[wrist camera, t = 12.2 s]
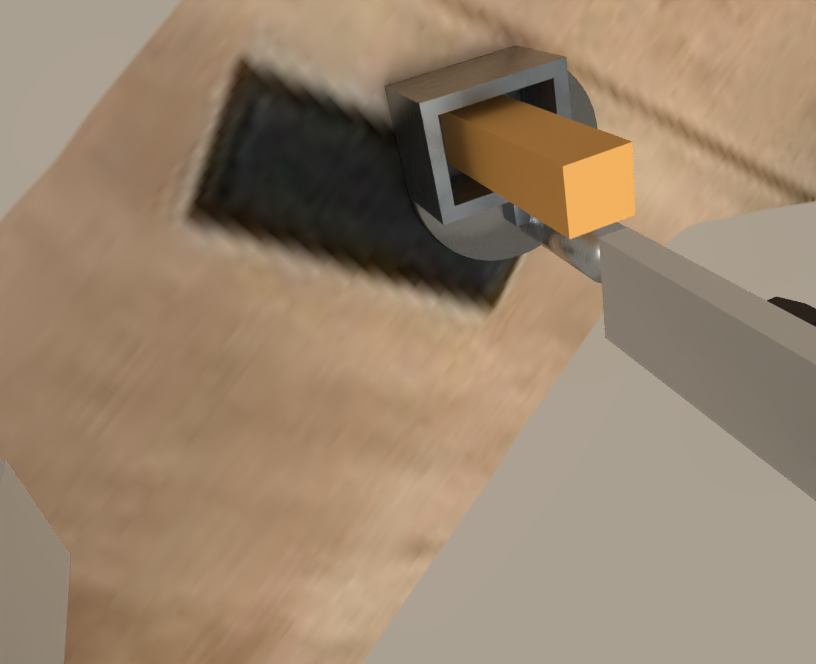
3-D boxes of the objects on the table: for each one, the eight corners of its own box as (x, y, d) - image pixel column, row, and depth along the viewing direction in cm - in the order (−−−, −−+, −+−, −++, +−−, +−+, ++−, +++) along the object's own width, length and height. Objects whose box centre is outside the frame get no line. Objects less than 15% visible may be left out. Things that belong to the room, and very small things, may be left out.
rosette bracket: (427, 279, 56) (489, 343, 46) (384, 86, 48) (449, 118, 39) (593, 218, 58) (682, 267, 49) (579, 26, 51) (681, 42, 41)
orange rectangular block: (448, 163, 50) (569, 239, 37) (438, 107, 48) (562, 166, 35) (499, 146, 51) (635, 214, 38) (491, 90, 49) (632, 141, 36)
